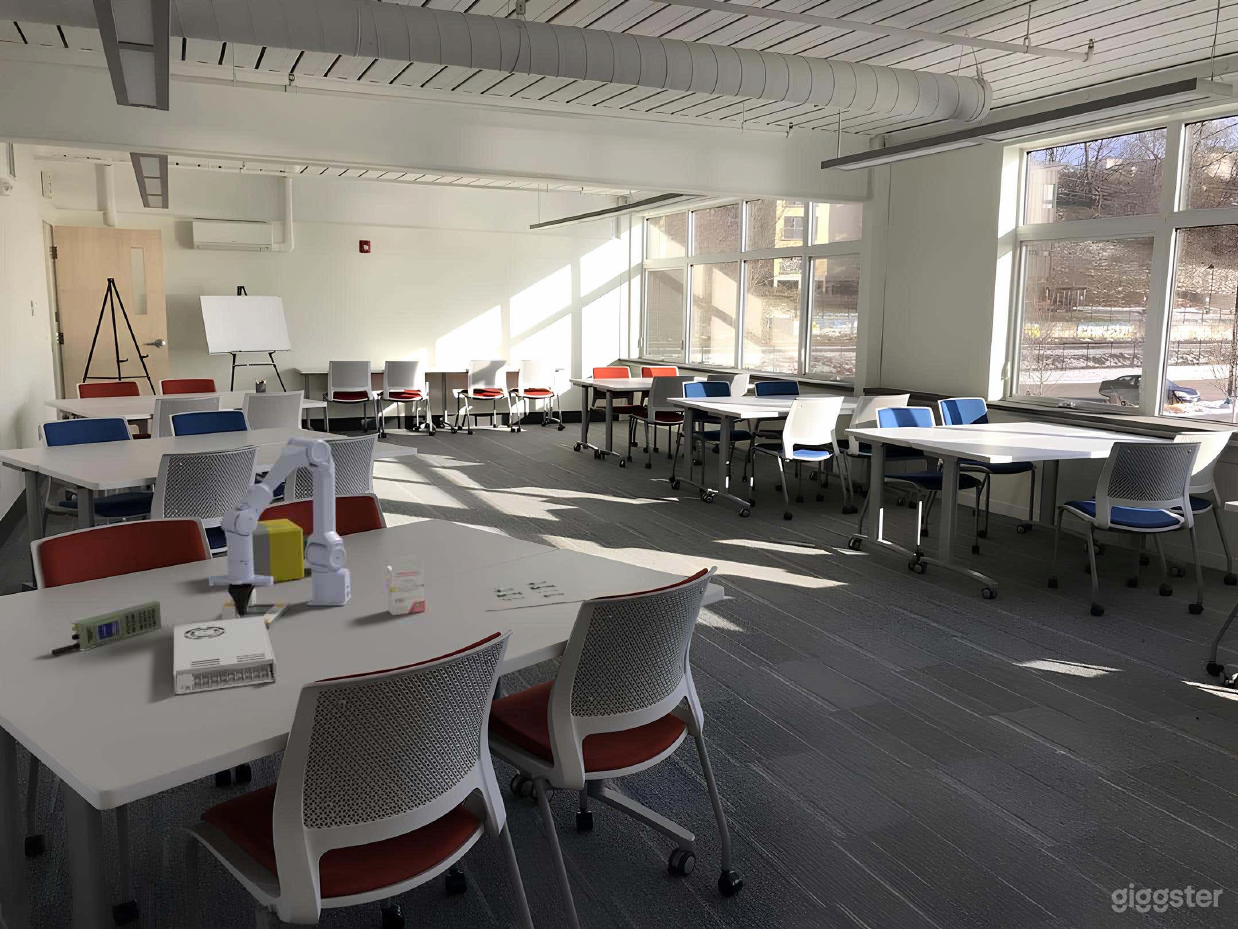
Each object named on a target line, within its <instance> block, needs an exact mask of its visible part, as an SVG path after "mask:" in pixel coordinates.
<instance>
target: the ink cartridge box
mask: <svg viewBox="0 0 1238 929" xmlns="http://www.w3.org/2000/svg"><path fill="white" fill-rule="evenodd" d="M407 561H408V562H409V563H403V562H407ZM410 562H411V563H410ZM390 564H391V565H388V566H386V584H387V585H386V587H387V591H386V592H387V610H388V612H389V613H390V614H391V615H392V616H397V615H405V614H412V613H413V614H414V613H422V612H425V611H426V602H425V598H426V596H425V594H426V593H425V569H424V568H425V567H424V560H423V555H412V556H401V557H392V558H391V559H390Z"/></svg>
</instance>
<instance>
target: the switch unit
mask: <svg viewBox="0 0 1238 929" xmlns="http://www.w3.org/2000/svg"><path fill="white" fill-rule="evenodd" d="M289 609H290V603H284V602H282V603H279V602H278V603H255V604H254V605H253V606H248V610H247V613H246V614H245V615H244V616H240V617H239V618H248V617H258V616H263V619H264V622H265V626H266V629H270V628H272V626H273V625H274V624H275V623H276V622H277V621H278V620H279V619H280V618H281V617H282V616H283V615H284V614H285V613H286V612H287V611H288V610H289ZM285 611H286V612H285ZM282 614H283V615H282ZM239 618H238V619H239ZM220 620H223V619H222V612H221V613H219V615H217V616H216V617H215V618H214V619H213V620H212V621H220Z"/></svg>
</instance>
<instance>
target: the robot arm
mask: <svg viewBox="0 0 1238 929" xmlns="http://www.w3.org/2000/svg"><path fill="white" fill-rule="evenodd" d="M335 465H336V464H335V461H334V459H333V456H332V447H331V445H330V444H329V443H327V442H326V441H325V440H323V439H320V438H309V437H302V436H299V435H298V436H297V435H296V436H292V437H290V438H289V439H288V441H287V442H286V444H285V445H283V447H282V448H281V454H280V455H279V457H278V459H277V460H276V461H275V463H274V464H273V465H272V467H271V468H270V470H269V472H267V474H266V475H265V477H264V478H263V479H262V481H261V482H260V483H254V484H253V485H252V486H248V488H247V489H246V493H245V494H244V495H243V497H242V498H241V499H240V500H239V501H238V502H236V503H235V505H234V508H231V509H228V510H227V511H226V512H225V513H224V514H223V516H222V518H221V521H219V523H220V528H221V529H222V530H223V531H224V536H225V538H226V556H227V557H226V558H227V575H226V574H224V575H223V574H222V575H211V576H209V577H208V586H209V587H214V586H228V588H227V592H228V594H229V595H230V597H231V599H233V600H234V602H235V605H236V607H237V610H238V614H239V616H244V615H245V614H246V613H247V607H248V603H249V599H250V596H251V594H252V592H253V589H255V587H256V586H266V587H271V586H273V585H274V583H273V576H262V575H254V566H253V541H252V532H253V531H254V530H256V528H257V524H258V522H259V519H260V516H261V515H262V513H263V512H264V511H265V510H266V509H267V508H268V506H269V504H271V502H272V501H273V500H274V493H273V492H274V491H275V490H276V489H277V488H278V486H280V484H281V483H282V482H283V481H284V480H285V479H286V478H287V477H288V475H290V474H291V473H292V472H293V470H294V469H299V468H306V469H308V470H309V471H310V472H311V473H312V508H313V509H312V513H313V514H312V515H313V516H312V519H313V520H312V521H313V523H312V524H313V526H312V527H313V528H312V529H313V532H311V533H310V534H311V535H310V534H309V535H310V536H309V537H308V543H307V547H306V550H305V559H304V560H305V561H306V562H307V563H308V564H309V568H310V569H311V570H310V571H311V596H312V598H311V599H310V600H309V601H308V603H307V606H345V605H346V604H347V603H348V602H349V600H350V599H351V598H352V595H351V574H350V569H349V568H343V565H345V562H346V560H347V552H346V550H345V548H344V540H343V538H342V537H341V536H340V535H339V534H338V533H337V530H336V528H337V527H336V525H337V524H336V466H335Z"/></svg>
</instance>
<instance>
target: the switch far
mask: <svg viewBox="0 0 1238 929" xmlns="http://www.w3.org/2000/svg"><path fill="white" fill-rule="evenodd" d="M254 604H257V591H256V588H254V589H253V592H252V594H251V596H250V599H249V603H248V606H253V605H254Z"/></svg>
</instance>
